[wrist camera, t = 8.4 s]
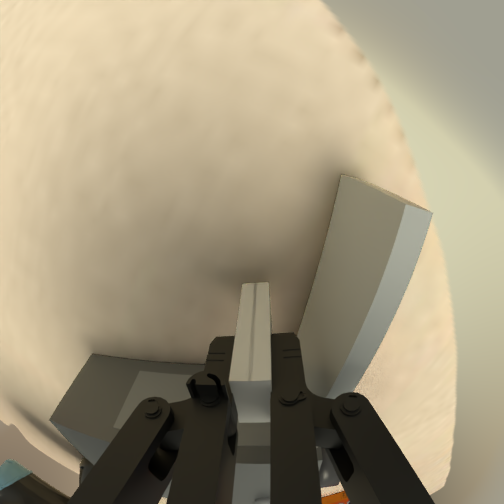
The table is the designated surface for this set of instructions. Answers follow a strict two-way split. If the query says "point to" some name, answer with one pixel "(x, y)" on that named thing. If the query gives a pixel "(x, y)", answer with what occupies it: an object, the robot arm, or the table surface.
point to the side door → (358, 283)
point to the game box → (336, 499)
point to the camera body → (173, 390)
